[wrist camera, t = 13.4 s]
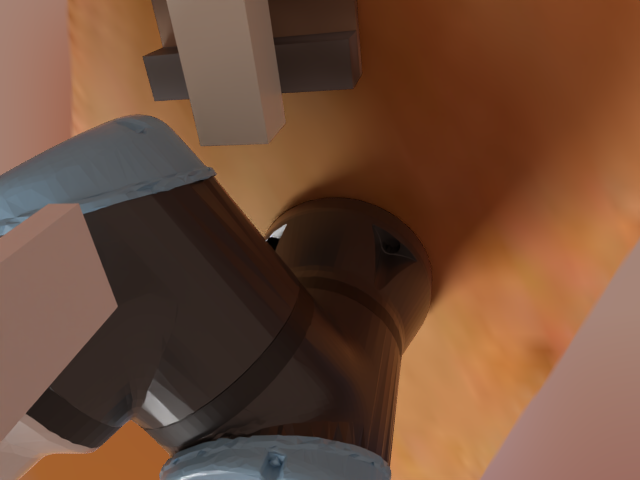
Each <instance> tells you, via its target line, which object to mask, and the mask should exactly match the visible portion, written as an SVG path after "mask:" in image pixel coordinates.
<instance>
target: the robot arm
mask: <svg viewBox="0 0 640 480" xmlns="http://www.w3.org/2000/svg"><path fill="white" fill-rule="evenodd" d="M215 175H217V174H216V172H215V171H214V170H213V168H211V167H207V166H205V165H204V164H203V163H202V161H201V160H200V159H199V158H198V157H197V156H196V155H195V154H194V153H193V152H192V150H191V149H190V148H189V147H188V146H187V145H186V144H185V143H184V142H183V141H182V140H181V138H180V137H179V136H178V135H177V134H176V133H175V132H174V131H173V130H172V129H171V128H170V127H169V126H168V125H167V124H166V123H164V122H163V121H161V120H159V119H157V118H155V117H152V116H147V115H129V116H124V117H120V118H117V119H114V120H111V121H108V122H106V123H104V124H101V125H99V126H96V127H94V128H92V129H90V130H87V131H85V132H83V133H81V134H78V135H76V136H74V137H72V138H70V139H68V140H66V141H64V142H62V143H60V144H58V145H56V146H54V147H52V148H50V149H48V150H46V151H44V152H42V153H41V154H39V155H37V156H35V157H33V158H31V159H29V160H27V161H25V162H24V163H22V164H20V165H18V166H16V167H14V168H13V169H11V170H9V171H7V172H6V173H4V174H2V175H0V480H19V479H20V478H21V477H22V476H23V475H24V474H25V473H26V472H27V471H28V470H30V469H31V468H32V467H33V466H34V465H35V464H36V463H37V462H38V461H39V460H40V459H41V458H43V457H44V456H46V455H50V454H54V453H90V452H94V451H95V450H96V449H98V448H99V447H100V446H101V445H103V443H105V442H106V441H107V440H108V439H109V438H110V437H111V436H112V435H113V434H114V433H115V432H116V431H117V430H118V429H119V428H121V427H122V426H123V425H124V424H125V423H126V422H128V421H129V420H132V421H134V422H135V423H137V424H138V425H139V426H141V427H142V428H143V429H144V430H145V431H146V432H147V433H148V434H149V435H150V436H152V437H153V438H154V439H155V440H156V441H157V443H158V444H160V445H161V446H162V447H163V448H164V449H165V450H166V451H167V452H168V453H169V455H170V459H168V460H167V462H166V463H165V464H164V465H163V467H162V469H161V472H160V480H391V470H390V460H391V451H392V441H393V431H394V422H395V412H396V403H397V393H398V384H399V375H400V366H401V357H402V355H403V353H404V352H405V350H406V349H407V347H408V346H409V344H410V343H411V341H412V340H413V338H414V337H415V335H416V334H417V332H418V331H419V329H420V328H421V326H422V324H423V322H424V320H425V318H426V316H427V313H428V310H429V306H430V301H431V289H432V272H431V266H430V262H429V259H428V256H427V254H426V251H425V249H424V248H423V246H422V244H421V242H420V241H419V239H418V238H417V237H416V235H415V234H414V233H413V232H412V231H411V230H410V229H409V228H408V227H407V226H406V225H405V224H404V223H403V222H402V221H401V220H399V219H398V218H397V217H395V216H394V215H392V214H390V213H389V212H387V211H385V210H383V209H381V208H379V207H377V206H375V205H372V204H369V203H366V202H363V201H359V200H354V199H348V198H322V199H316V200H312V201H308V202H305V203H302V204H300V205H297V206H295V207H293V208H291V209H290V210H288V211H287V212H285V213H284V214H282V215H281V216H280V217H279V218H278V219H277V220H276V221H275V222H274V223H273V224H272V225H271V227H270V228H269V229H268V231H267V233H266V234H265V236H264V238H263V236H262V235H261V234H260V233H259V231H258V230H257V229H256V228H255V226H254V225H253V224H252V223H251V221H250V220H249V219H248V218H247V217H246V215H245V214H244V213H243V212H242V210H241V209H240V208H239V207H238V205H237V204H236V203H235V202H234V201H233V199H232V198H231V197H230V196H229V194H228V193H227V192H226V191H225V189H224V188H223V187H222V186H221V185H220V183H219V182H218V181H217V180H216V178H215V177H214V176H215Z"/></svg>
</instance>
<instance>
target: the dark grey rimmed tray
mask: <svg viewBox="0 0 640 480" xmlns="http://www.w3.org/2000/svg"><path fill="white" fill-rule="evenodd" d="M151 1H152V5H153V9H154V13H155V17H156V21H157V25H158V29H159V33H160V37H161V41H162V45H163V48H161V49H158V50H156V51H154V52H152V53H150V54H147V55H145V56H143V60H144V64H145V67H146V71H147V75H148V78H149V82H150V86H151V89H152V93H153V97H154V100H155V101H165V100H181V99H189V94H188V90H187V86H186V82H185V77H184V73H183V69H182V65H181V61H180V56H179V52H178V48H177V44H176V39H175V35H174V31H173V27H172V22H171V18H170V14H169V10H168V5H167V1H166V0H151ZM268 6H269V13H270V19H271V26H272V33H273V40H274V46H275V53H276V60H277V66H278V73H279V80H280V86H281V93H294V92H310V91H326V90H342V89H353V88H354V86H355V85H356V83H357V81H358V80H359V78H360V76H361V75H362V63H361V50H360V37H359V24H358V11H357V0H268Z"/></svg>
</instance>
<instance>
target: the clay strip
mask: <svg viewBox="0 0 640 480" xmlns="http://www.w3.org/2000/svg"><path fill="white" fill-rule="evenodd" d="M166 1H167V5H168V10H169V14H170V18H171V22H172V27H173V31H174V35H175V39H176V44H177V48H178V52H179V56H180V61H181V65H182V69H183V73H184V77H185V82H186V86H187V90H188V94H189V99H190V103H191V107H192V111H193V116H194V120H195V124H196V128H197V133H198V137H199V141H200V145H201V146H220V145H249V144H269V143H270V141H271V140H272V139H273V138H274V136H275V135H276V134H277V133H278V132H279V130H280V129H281V128H282V127H283V126H284V124H285V123H286V120H285V113H284V107H283V100H282V93H281V86H280V80H279V73H278V66H277V60H276V53H275V46H274V40H273V33H272V26H271V19H270V13H269V6H268V0H166Z"/></svg>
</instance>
